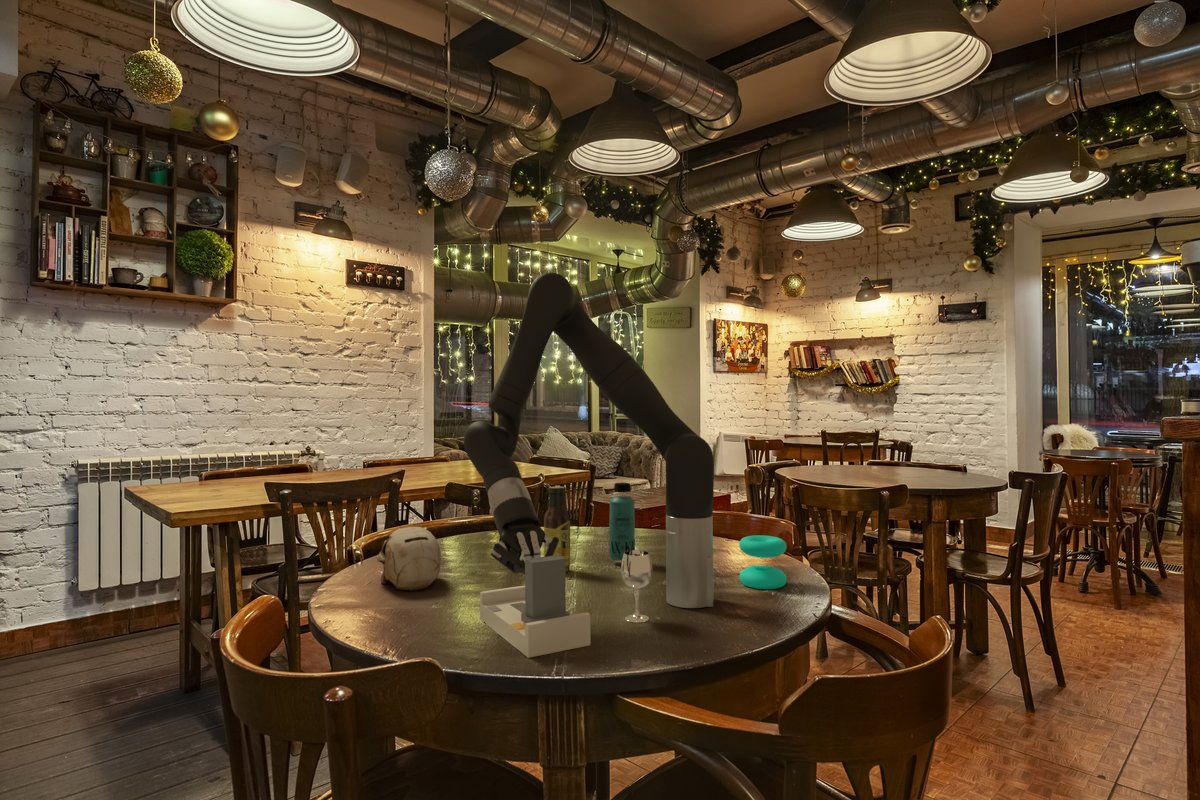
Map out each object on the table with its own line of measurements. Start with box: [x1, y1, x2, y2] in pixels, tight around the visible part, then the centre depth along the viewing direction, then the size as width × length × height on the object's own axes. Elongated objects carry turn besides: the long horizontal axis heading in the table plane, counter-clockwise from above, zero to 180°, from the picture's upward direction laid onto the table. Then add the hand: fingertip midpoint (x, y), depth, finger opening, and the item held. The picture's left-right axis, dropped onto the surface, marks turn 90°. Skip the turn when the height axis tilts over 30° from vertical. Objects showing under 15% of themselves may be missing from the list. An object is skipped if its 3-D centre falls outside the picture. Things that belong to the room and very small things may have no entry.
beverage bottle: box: [608, 482, 636, 562], centre depth 167 cm, size 6×7×20 cm
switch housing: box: [479, 584, 591, 659], centre depth 118 cm, size 22×11×5 cm, turn 30°
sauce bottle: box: [543, 486, 571, 574], centre depth 160 cm, size 6×6×20 cm
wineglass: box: [620, 549, 653, 623], centre depth 124 cm, size 6×6×12 cm
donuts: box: [738, 534, 788, 590], centre depth 148 cm, size 10×10×10 cm
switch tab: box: [521, 555, 571, 623], centre depth 113 cm, size 4×7×10 cm, turn 120°
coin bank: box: [376, 526, 442, 592], centre depth 150 cm, size 16×17×13 cm
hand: (540, 590), depth 115 cm, fingers closed
